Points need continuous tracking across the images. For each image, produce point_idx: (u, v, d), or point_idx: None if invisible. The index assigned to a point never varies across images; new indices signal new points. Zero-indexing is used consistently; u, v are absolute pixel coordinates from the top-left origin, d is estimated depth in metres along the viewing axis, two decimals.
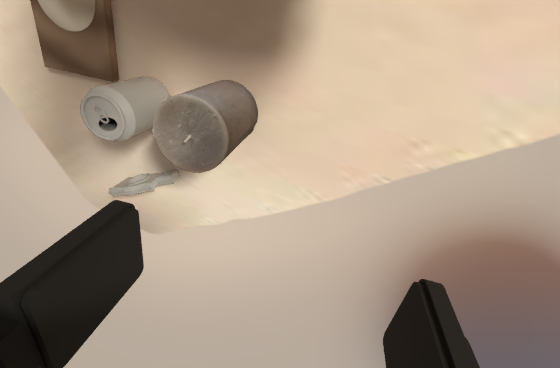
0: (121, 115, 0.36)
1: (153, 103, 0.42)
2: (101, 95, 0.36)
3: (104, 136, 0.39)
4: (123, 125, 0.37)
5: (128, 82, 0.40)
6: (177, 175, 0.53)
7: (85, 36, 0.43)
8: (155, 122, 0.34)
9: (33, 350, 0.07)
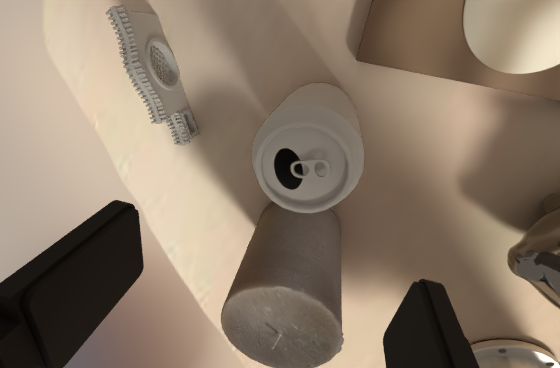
0: (308, 212, 0.19)
1: None
2: (348, 187, 0.17)
3: (262, 157, 0.18)
4: (288, 208, 0.19)
5: None
6: None
7: (449, 23, 0.21)
8: (299, 296, 0.20)
9: (33, 350, 0.07)
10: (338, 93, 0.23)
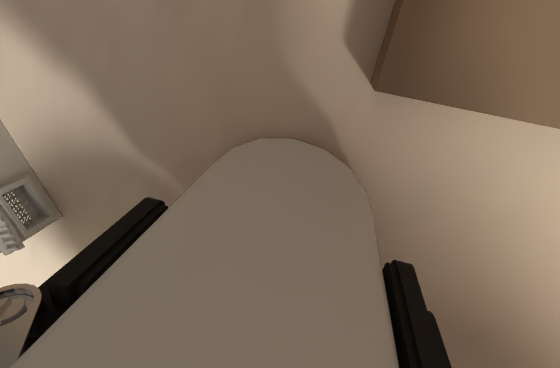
0: None
1: None
2: None
3: None
4: None
5: None
6: None
7: None
8: None
9: None
10: (324, 185, 0.08)
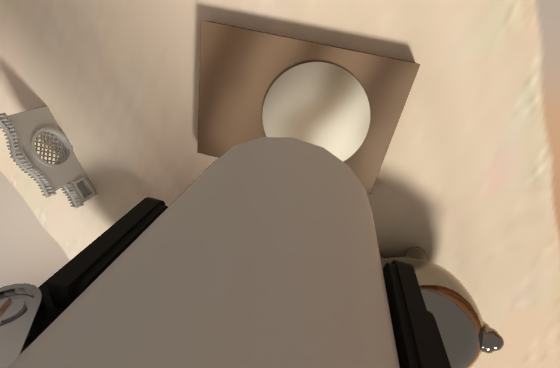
0: None
1: None
2: None
3: None
4: None
5: None
6: None
7: (256, 131, 0.27)
8: None
9: None
10: (324, 184, 0.08)
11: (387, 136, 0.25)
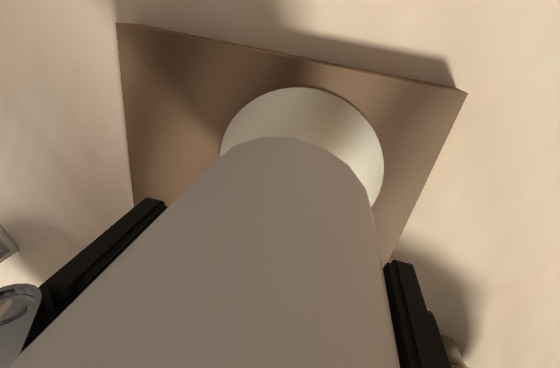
0: None
1: None
2: None
3: None
4: None
5: None
6: None
7: None
8: None
9: None
10: (324, 184, 0.08)
11: (409, 199, 0.16)
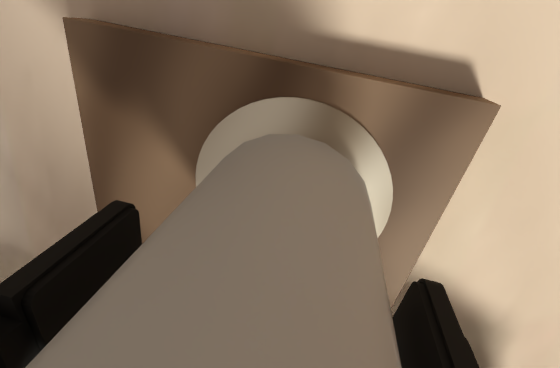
0: None
1: None
2: None
3: None
4: None
5: None
6: None
7: None
8: None
9: (34, 350, 0.07)
10: (327, 175, 0.09)
11: (423, 230, 0.14)
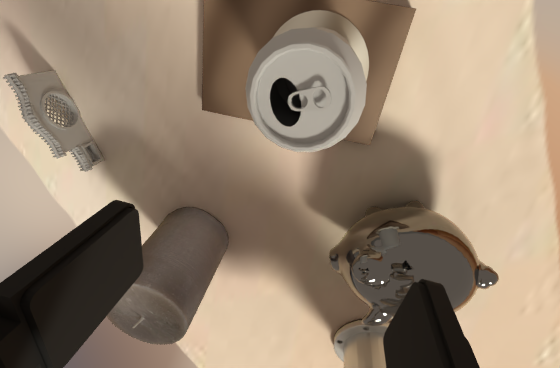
0: (307, 150, 0.18)
1: None
2: (350, 118, 0.16)
3: (257, 88, 0.17)
4: (286, 147, 0.18)
5: None
6: None
7: None
8: (146, 290, 0.28)
9: (33, 350, 0.07)
10: (337, 33, 0.22)
11: (385, 84, 0.26)
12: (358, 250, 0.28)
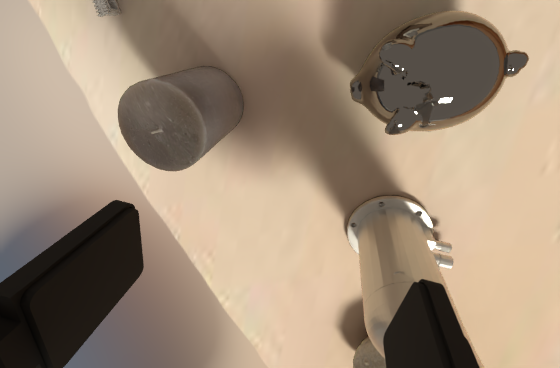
0: None
1: None
2: None
3: None
4: None
5: None
6: (113, 14, 0.38)
7: None
8: (166, 86, 0.27)
9: (33, 350, 0.07)
10: None
11: None
12: None
